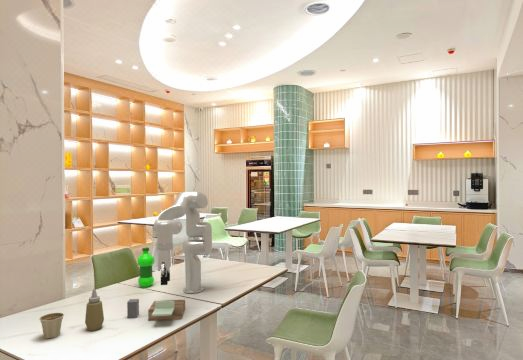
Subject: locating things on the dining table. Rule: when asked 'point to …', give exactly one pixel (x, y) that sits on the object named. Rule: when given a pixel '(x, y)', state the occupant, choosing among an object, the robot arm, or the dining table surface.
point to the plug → (133, 308)
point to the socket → (177, 314)
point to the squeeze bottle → (94, 312)
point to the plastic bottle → (145, 268)
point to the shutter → (163, 308)
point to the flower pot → (51, 324)
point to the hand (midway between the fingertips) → (165, 282)
